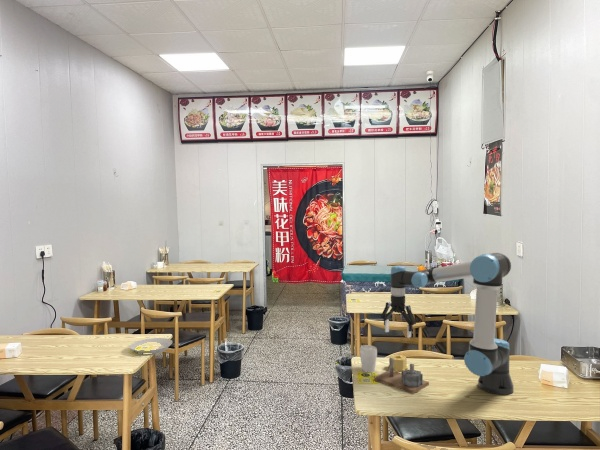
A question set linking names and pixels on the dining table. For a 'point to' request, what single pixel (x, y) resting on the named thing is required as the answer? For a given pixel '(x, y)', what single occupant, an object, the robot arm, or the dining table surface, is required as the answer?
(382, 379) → the gear board
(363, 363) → the cup
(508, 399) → the dining table surface
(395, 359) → the ochre gear
